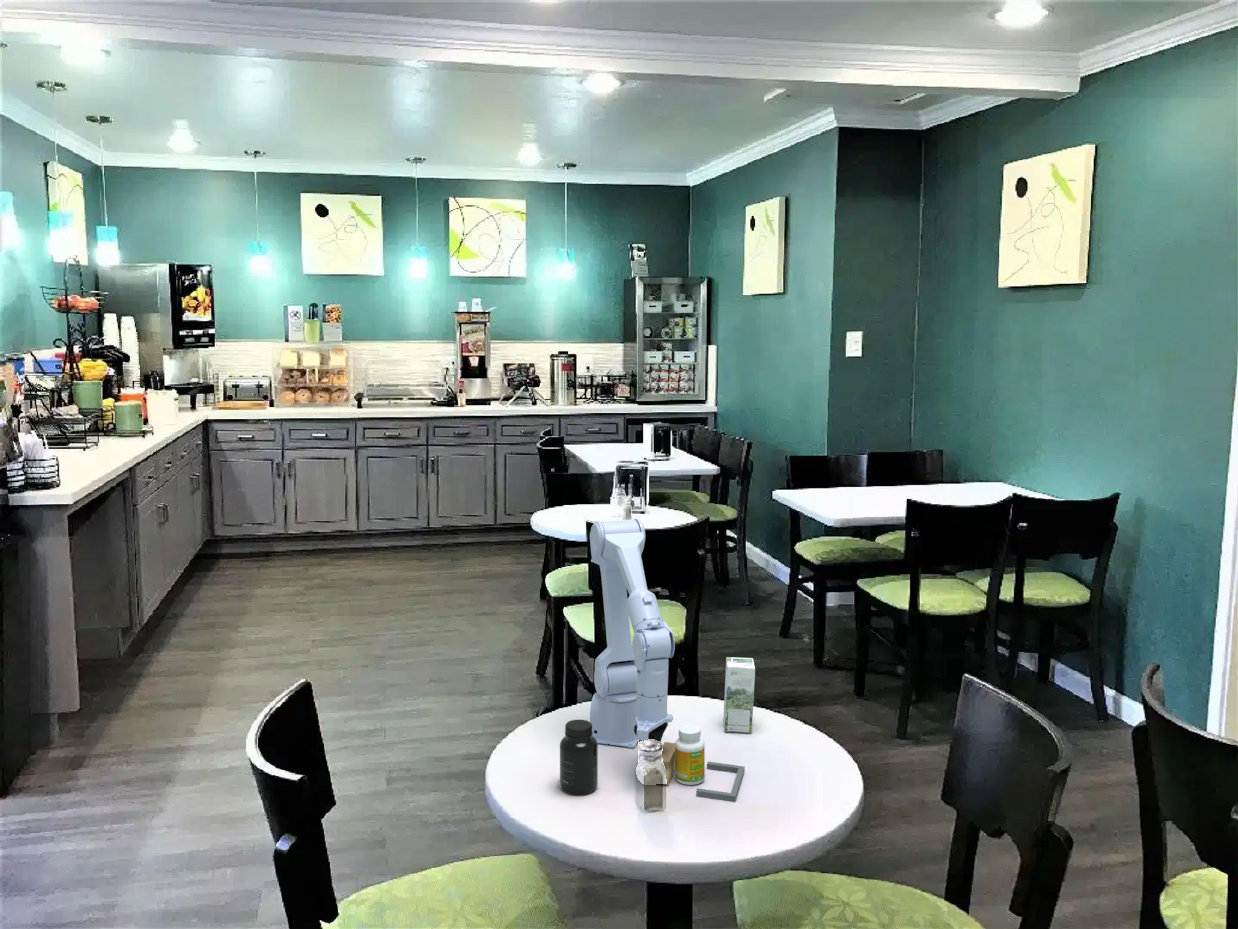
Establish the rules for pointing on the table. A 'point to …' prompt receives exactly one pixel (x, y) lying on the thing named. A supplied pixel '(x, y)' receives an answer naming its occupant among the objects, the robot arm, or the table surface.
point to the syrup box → (739, 695)
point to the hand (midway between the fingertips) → (650, 761)
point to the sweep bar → (669, 759)
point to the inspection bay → (736, 785)
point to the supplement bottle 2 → (689, 756)
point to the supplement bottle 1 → (578, 759)
